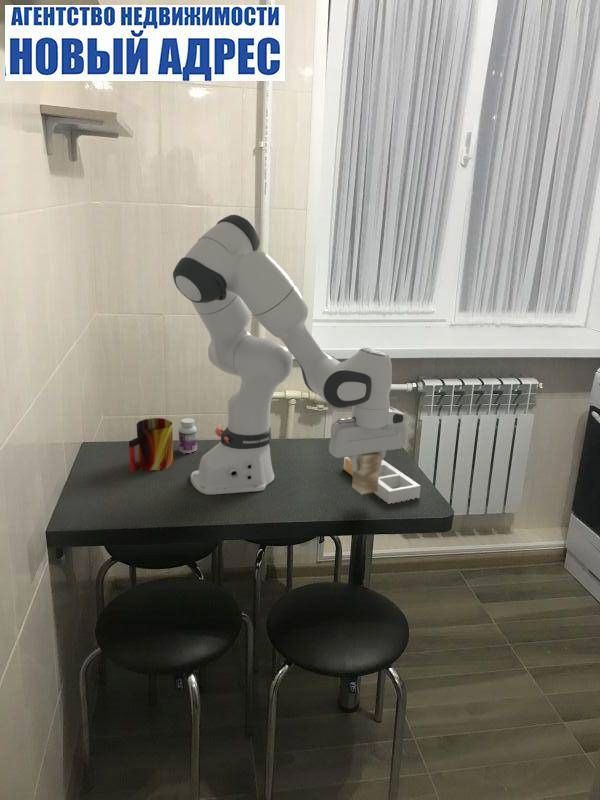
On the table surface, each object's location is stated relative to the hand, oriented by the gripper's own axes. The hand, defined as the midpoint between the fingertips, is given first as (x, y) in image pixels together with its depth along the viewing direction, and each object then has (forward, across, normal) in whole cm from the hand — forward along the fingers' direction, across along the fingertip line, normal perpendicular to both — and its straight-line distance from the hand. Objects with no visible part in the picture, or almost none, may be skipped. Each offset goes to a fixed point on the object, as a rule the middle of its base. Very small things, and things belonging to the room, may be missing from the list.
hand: (366, 468), depth 158 cm
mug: (+10, -43, +42) cm, 61 cm away
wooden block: (+6, 0, 0) cm, 6 cm away
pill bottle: (+10, -30, +50) cm, 60 cm away
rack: (+10, +11, +10) cm, 18 cm away
